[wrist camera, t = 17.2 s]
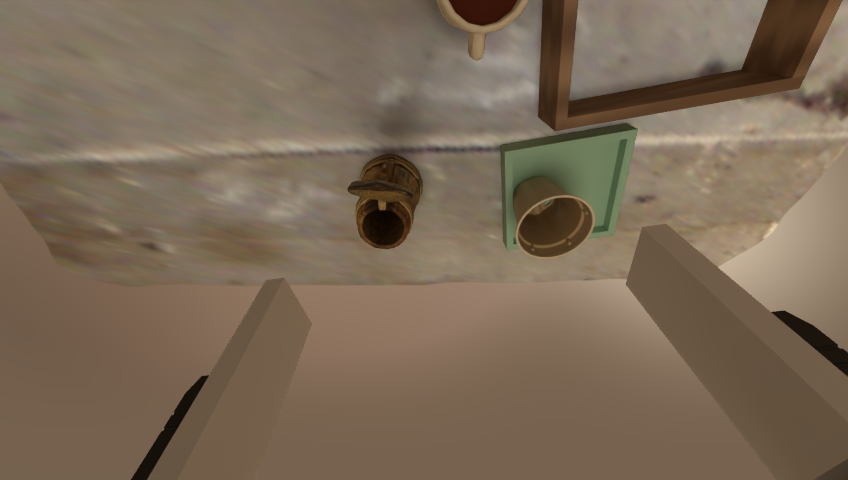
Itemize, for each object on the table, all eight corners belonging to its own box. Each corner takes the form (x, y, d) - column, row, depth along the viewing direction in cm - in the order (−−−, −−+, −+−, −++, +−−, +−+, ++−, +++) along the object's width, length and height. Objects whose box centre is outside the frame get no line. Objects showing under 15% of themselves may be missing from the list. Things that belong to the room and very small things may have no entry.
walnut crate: (546, -90, 28) (572, -113, 23) (844, -163, 26) (943, -206, 21) (538, 116, 39) (555, 131, 34) (748, 79, 36) (799, 88, 31)
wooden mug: (430, 125, 39) (435, 188, 25) (419, 215, 47) (417, 303, 32) (360, 117, 39) (322, 176, 24) (360, 209, 46) (332, 297, 32)
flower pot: (557, 223, 47) (581, 259, 40) (496, 223, 47) (509, 259, 40) (575, 165, 41) (607, 195, 34) (506, 165, 41) (523, 195, 34)
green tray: (500, 145, 41) (504, 151, 39) (626, 123, 39) (637, 129, 37) (503, 240, 50) (507, 250, 48) (605, 226, 48) (613, 235, 46)
